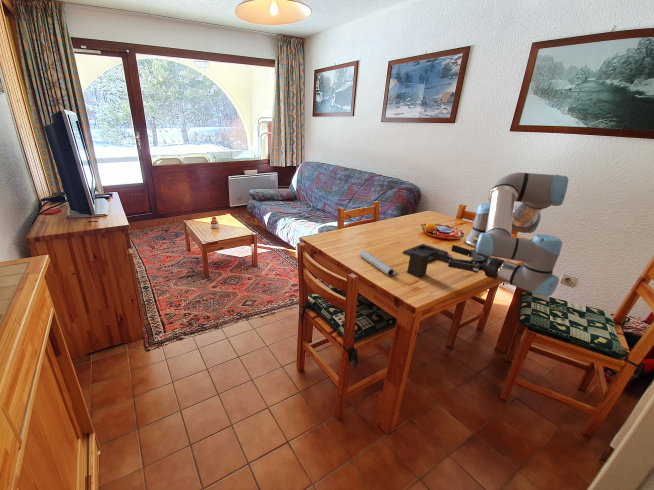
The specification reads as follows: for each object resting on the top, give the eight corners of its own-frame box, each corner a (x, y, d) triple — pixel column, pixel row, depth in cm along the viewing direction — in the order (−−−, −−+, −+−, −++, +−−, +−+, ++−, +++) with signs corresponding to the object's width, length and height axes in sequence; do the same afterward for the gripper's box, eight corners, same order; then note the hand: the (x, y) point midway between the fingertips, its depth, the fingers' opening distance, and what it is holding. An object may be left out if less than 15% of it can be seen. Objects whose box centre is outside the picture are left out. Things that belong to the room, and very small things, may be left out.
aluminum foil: (359, 256, 157) (359, 250, 155) (370, 255, 159) (371, 249, 157) (387, 276, 137) (388, 269, 136) (399, 274, 139) (400, 267, 138)
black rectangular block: (413, 269, 144) (417, 249, 140) (425, 274, 139) (429, 254, 135) (407, 272, 141) (410, 252, 137) (419, 277, 136) (423, 256, 133)
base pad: (422, 245, 171) (423, 241, 170) (447, 254, 160) (448, 249, 159) (402, 253, 161) (403, 248, 160) (427, 262, 151) (428, 257, 150)
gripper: (482, 289, 106) (424, 267, 122) (512, 270, 119) (457, 253, 135) (487, 269, 103) (428, 249, 119) (518, 253, 116) (461, 236, 132)
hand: (443, 251), depth 127 cm, fingers open, 13 cm apart
